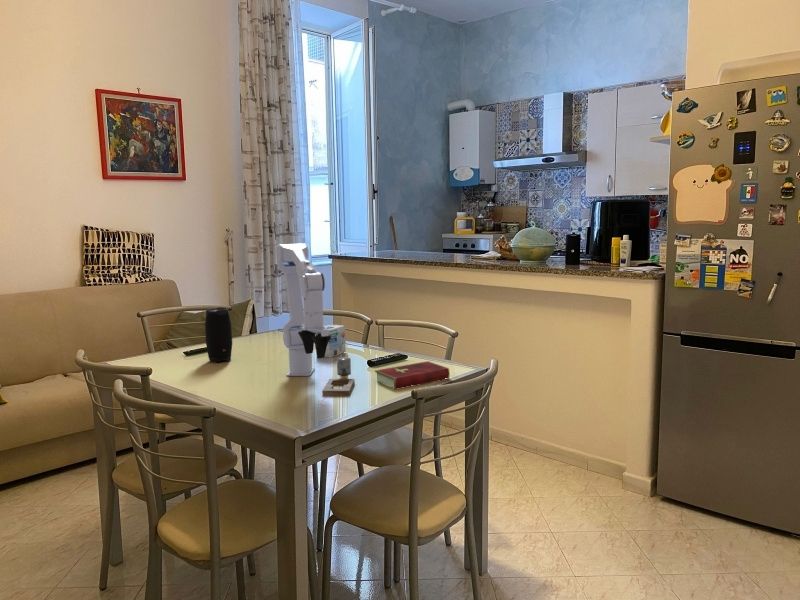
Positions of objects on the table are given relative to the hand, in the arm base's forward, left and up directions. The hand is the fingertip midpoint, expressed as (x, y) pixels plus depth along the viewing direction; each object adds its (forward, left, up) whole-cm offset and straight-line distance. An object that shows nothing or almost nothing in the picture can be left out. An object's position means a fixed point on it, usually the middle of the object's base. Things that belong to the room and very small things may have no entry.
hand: (315, 355), depth 187 cm
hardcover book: (-9, +30, -11) cm, 33 cm away
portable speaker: (-35, -42, -10) cm, 56 cm away
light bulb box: (-45, -2, -10) cm, 46 cm away
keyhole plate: (+2, +8, -10) cm, 13 cm away
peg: (-9, +8, -10) cm, 16 cm away
